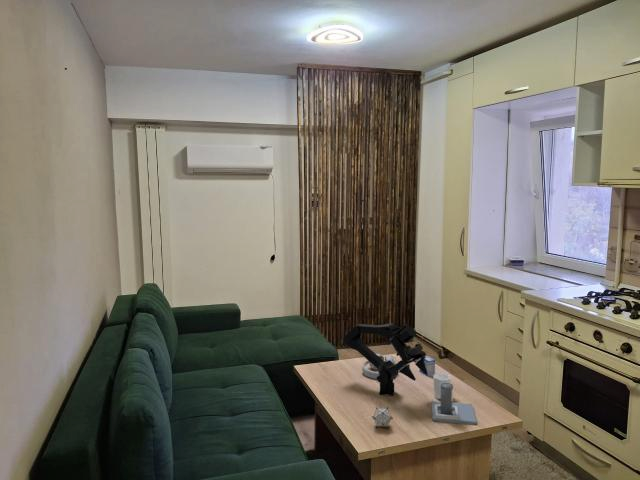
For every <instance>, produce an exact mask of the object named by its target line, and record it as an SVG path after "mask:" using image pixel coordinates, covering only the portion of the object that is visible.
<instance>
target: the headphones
mask: <svg viewBox="0 0 640 480" xmlns="http://www.w3.org/2000/svg"><path fill="white" fill-rule="evenodd" d="M375 354H376V355H378V356H379V357H380V358H381V359H382V360H383V361H388V360H390V361H391V362H392V363H393V364H397V363H396V359H395V358H394V357H393V356H392V355H390V354H388V355H387V354H386V355H385V356H384V355H383V354H380V353H375ZM366 365H369V367H370V368H371V369H373V370H378V369H377V368H376V367H375V366H374V365H373V364H372V363H370V362H369V361H368V360H366V361H365V362H363V364H362V366H361V371H362V373H363V375H365V376H366V377H367V378H369V379H370V378H371V379H374V380H377V377H378V376H379V375H380V374H379V372H378V371H373V370H370V369H368V368H367V367H366Z"/></svg>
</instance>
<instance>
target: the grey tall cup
mask: <svg viewBox="0 0 640 480" xmlns="http://www.w3.org/2000/svg"><path fill="white" fill-rule="evenodd" d="M453 390H454V385H453V384H452V383H451V382H450V383H442V384H441V399H440V402H441V410H440V413H441V414H444V415H452V405H453V403H454V402H453V400H454V399H453V396H454V394H453V393H454V392H453Z"/></svg>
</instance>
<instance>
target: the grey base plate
mask: <svg viewBox="0 0 640 480" xmlns="http://www.w3.org/2000/svg"><path fill="white" fill-rule="evenodd" d="M430 404H431V417H432V421H433V422H439V423H440V422H441V423H452V424H455V423H456V424H466V425H477V424H478V422H477V418H476V414H475V409H474V406H473V404H472V403H462V402H453V405H452V415H444V414H441V413H440V410H441V401H438V400H437V401H435V400H431V403H430Z"/></svg>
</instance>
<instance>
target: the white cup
mask: <svg viewBox="0 0 640 480" xmlns="http://www.w3.org/2000/svg"><path fill="white" fill-rule="evenodd" d="M432 377H433V378H432V379H433V392H434V393H433V395H434V398H436V399H438V400H441V384H442V383H450V384H451V375H449V374H447V373H444V372H443V373H442V372H437V373H435V374H434V375H433V376H432Z"/></svg>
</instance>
